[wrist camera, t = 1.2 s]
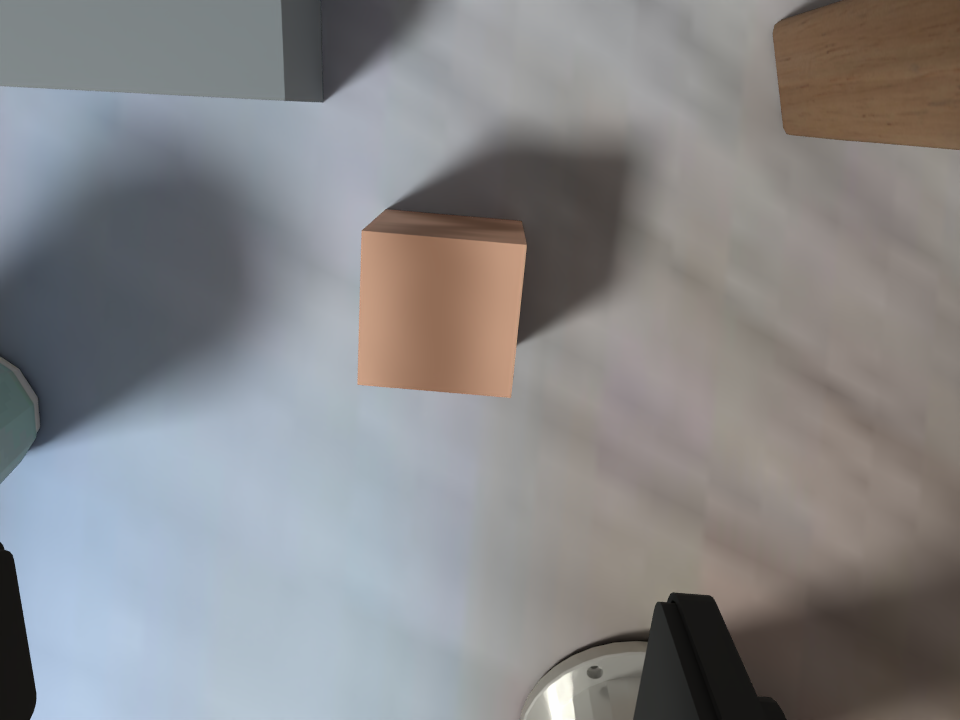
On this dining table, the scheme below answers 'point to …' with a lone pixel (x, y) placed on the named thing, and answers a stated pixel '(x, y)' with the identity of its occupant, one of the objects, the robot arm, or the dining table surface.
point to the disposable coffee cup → (15, 417)
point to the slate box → (165, 47)
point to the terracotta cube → (440, 302)
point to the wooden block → (872, 72)
